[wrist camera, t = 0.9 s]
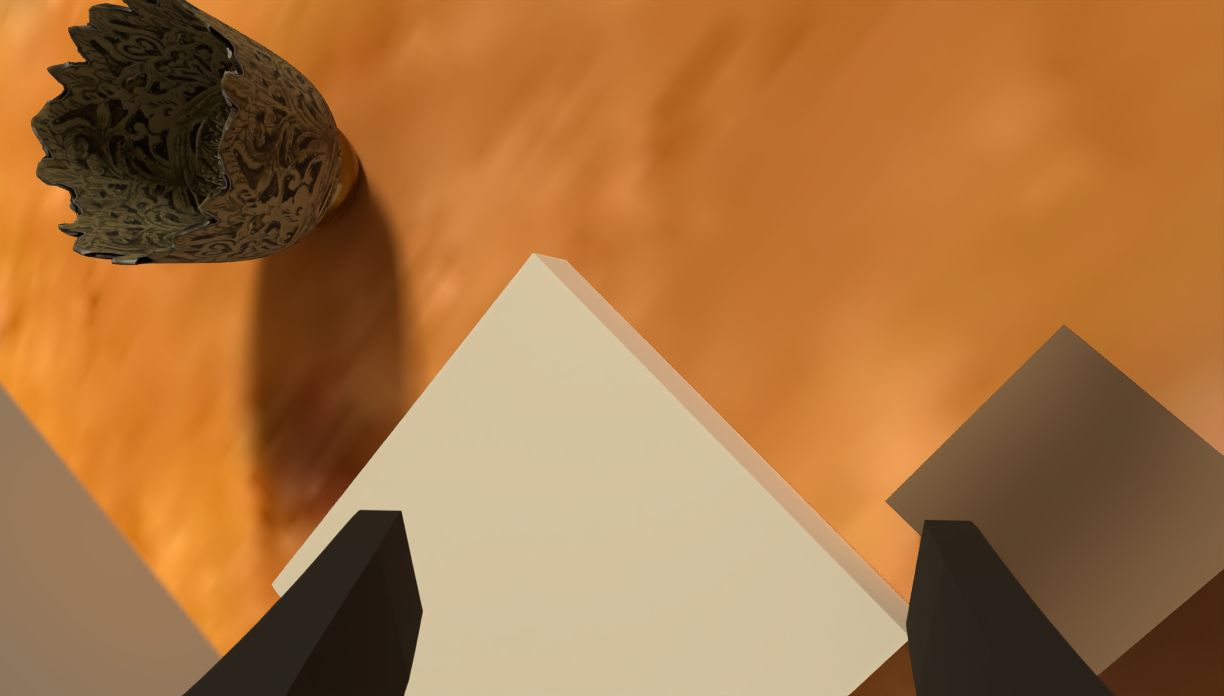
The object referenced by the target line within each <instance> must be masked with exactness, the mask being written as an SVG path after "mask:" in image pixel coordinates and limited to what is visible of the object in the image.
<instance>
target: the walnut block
mask: <svg viewBox="0 0 1224 696" xmlns="http://www.w3.org/2000/svg"><path fill="white" fill-rule="evenodd" d="M885 502H887V503H888V504H889V505H890V506H891V507H892V508H893V509H894V510H895V511H896V512H897V513H898V514H899V515H900V516H901V517H902V518H903V519H904V520H905V521H906V522H907V523H908V524H909V525H910V526H911V527H912V528H913V529H914V530H915V531H916V532H917V533H918V534H919V535H920V536H922V531H923V526H924V520H961V521H972V522H973V523H974V524H975V525H976V526H977V527H978V528H979V530H980V531H981V532H982V534H983V535H984V536H985V538H986V539H987V541H988V542H989V543H990V545H991V546H992V547H993V549H994V550H995V551H996V553H997V554H998V555H999V557H1000V558H1001V559H1002V561H1003V562H1004V563H1005V565H1006V566H1007V567H1008V569H1009V570H1010V571H1011V573H1012V574H1013V575H1014V577H1015V578H1016V579H1017V580H1018V582H1019V583H1020V584H1021V586H1022V587H1023V588H1024V589H1025V591H1026V592H1027V593H1028V594H1029V596H1030V597H1031V598H1032V600H1033V601H1034V602H1035V603H1036V605H1037V606H1038V607H1039V608H1040V610H1041V611H1042V612H1043V613H1044V614H1045V616H1046V617H1047V618H1048V619H1049V621H1050V622H1051V623H1052V624H1053V625H1054V626H1055V628H1056V629H1057V630H1058V631H1059V632H1060V634H1061V635H1062V636H1063V637H1064V638H1065V639H1066V641H1067V642H1068V643H1069V644H1070V645H1071V647H1072V648H1073V649H1074V650H1075V651H1076V652H1077V654H1078V655H1079V656H1080V657H1081V658H1082V659H1083V661H1084V662H1085V663H1086V664H1087V665H1088V666H1089V667H1090V668H1091V670H1092V671H1093V672H1094V673H1095V674H1096V675H1097V676H1098V675H1099V674H1100V673H1101V672H1103V671H1104V670H1105V669H1106V668H1107V667H1109V666H1110V665H1111V664H1112V663H1113V662H1114V661H1116V660H1117V659H1118V658H1119V657H1120V656H1122V655H1123V654H1124V653H1125V652H1126V651H1127V650H1129V649H1130V648H1131V647H1132V646H1133V645H1135V644H1136V643H1137V642H1138V641H1139V640H1140V639H1142V638H1143V637H1144V636H1145V635H1146V634H1147V633H1149V632H1150V631H1151V630H1152V629H1153V628H1155V627H1156V626H1157V625H1158V624H1159V623H1160V622H1162V621H1163V620H1164V619H1165V618H1166V617H1168V616H1169V615H1170V614H1171V613H1172V612H1173V611H1175V610H1176V609H1177V608H1178V607H1179V606H1181V605H1182V604H1183V603H1184V602H1185V601H1186V600H1188V599H1189V598H1190V597H1191V596H1192V595H1194V594H1195V593H1196V592H1197V591H1198V590H1199V589H1201V588H1202V587H1203V586H1204V585H1205V584H1206V583H1208V582H1209V581H1210V580H1211V579H1212V578H1214V577H1215V576H1216V575H1217V574H1218V573H1219V572H1221V571H1222V570H1223V569H1224V456H1223V455H1222V454H1220V453H1219V452H1218V451H1217V450H1215V449H1214V448H1213V447H1212V446H1211V445H1209V444H1208V443H1207V442H1206V441H1205V440H1203V439H1202V438H1201V437H1200V436H1199V435H1197V434H1196V433H1195V432H1194V431H1193V430H1191V429H1190V428H1189V427H1188V426H1186V425H1185V424H1184V423H1183V422H1182V421H1180V420H1179V419H1178V418H1177V417H1176V416H1174V415H1173V414H1172V413H1171V412H1170V411H1168V410H1167V409H1166V408H1165V407H1163V406H1162V405H1161V404H1160V403H1159V402H1157V401H1156V400H1155V399H1154V398H1153V397H1151V396H1150V395H1149V394H1148V393H1147V392H1145V391H1144V390H1143V389H1142V388H1140V387H1139V386H1138V385H1137V384H1136V383H1134V382H1133V381H1132V380H1131V379H1130V378H1128V377H1127V376H1126V375H1125V374H1124V373H1122V372H1121V371H1120V370H1119V369H1117V368H1116V367H1115V366H1114V365H1113V364H1111V363H1110V362H1109V361H1108V360H1107V359H1105V358H1104V357H1103V356H1102V355H1101V354H1099V353H1098V352H1097V351H1096V350H1095V349H1093V348H1092V347H1091V346H1090V345H1088V344H1087V343H1086V342H1085V341H1084V340H1082V339H1081V338H1080V337H1079V336H1078V335H1076V334H1075V333H1074V332H1073V331H1072V330H1070V329H1069V328H1068V327H1067V326H1065V325H1063V326H1062V327H1061V328H1060V329H1059V330H1058V331H1057V332H1056V333H1055V334H1054V335H1053V336H1052V337H1051V338H1050V339H1049V340H1048V341H1047V342H1046V343H1045V344H1044V345H1043V346H1042V347H1041V348H1040V349H1039V350H1038V351H1037V352H1036V353H1035V354H1034V355H1033V356H1032V357H1030V358H1029V359H1028V360H1027V361H1026V362H1025V363H1024V364H1023V365H1022V366H1021V367H1020V368H1019V369H1018V370H1017V371H1016V372H1015V373H1014V374H1013V375H1012V376H1011V377H1010V378H1009V379H1008V380H1007V381H1006V382H1005V383H1004V384H1003V385H1002V386H1001V387H1000V388H999V389H998V390H997V391H996V392H995V393H994V394H993V395H992V396H991V397H990V398H989V399H988V400H987V401H986V402H985V403H984V404H983V405H982V406H981V407H980V408H979V409H978V410H977V411H976V412H975V413H974V414H973V415H972V416H971V417H970V418H969V419H968V420H967V421H966V422H965V423H964V424H963V425H962V426H961V427H960V428H959V429H958V430H957V431H956V432H955V433H954V434H953V435H952V436H951V437H950V438H949V439H948V440H947V441H946V442H945V443H944V444H943V445H942V446H941V447H940V448H938V449H937V450H936V451H935V452H934V453H933V454H932V455H931V456H930V457H929V458H928V459H927V460H926V461H925V462H924V463H923V464H922V465H921V466H920V467H919V468H918V469H917V470H916V471H915V472H914V473H913V474H912V475H911V476H910V477H909V478H908V479H907V480H906V481H905V482H904V483H903V484H902V485H901V486H900V487H899V488H898V489H897V490H896V491H895V492H894V493H893V494H892V495H891V496H890V497H889V498H888V499H887V500H886V501H885Z"/></svg>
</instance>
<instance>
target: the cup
mask: <svg viewBox="0 0 1224 696" xmlns="http://www.w3.org/2000/svg"><path fill="white" fill-rule="evenodd" d="M123 2H124V3H125V4H127V5H128V7H129V8H128V7H124V6H119V5H113V4H108V3H104V4H98V5H94V6H92V7H91V8H90V9H89V10H88V11H89V23H87V26H72V27H69V28H68V31H69V34H70V36H71V38H72V40H73V42H74V43H75V45H76V46H77V48H78V49H77V51H78V52H79V53H80V54H81V56H82V57H83V58H84V59H85V60H86V62H77V63H75V62H74V63H73V62H67V63H64V64H60V65H54V66H50V67H48V68H47V70H48V72H49V73H50V74H51V75H52V76H53V77H54V78H55V79H56V80H57V81H58V82H59V83H61V84H62V86H63V88H64V90H63V91H62V93H61V94H60V95H59V96H57V97H56V98H57V99H56V98H54V99H52V100H49V101H47V103H46V104H45V106H44V107H43V108H42V109H41V111H40V112H39V113H38V114H37V115H36V116H35V117H33V118H32V120H31V127H32V130H33V132H34V134H35V135H36V137H37V138H38V140H39V141H40V143H41V144H42V146H43V147H42V149H43V150H44V152H45V154H46V156H45V157H44V158H42V160H41V161H40V162H39V163H38V166H37V171H36V175H37V177H38V178H39V179H40V180H42V181H43V182H44V183H46V184H47V185H54V186H58V187H60V188H63V189H65V190H68V191H70V192H69V193H70V195H71V199H70V201H71V203H70V205H69V206H70V208H71V209H72V210H73V211H74V212H75V213H76V214H77V213H78V215H77V220H76V221H75V222H74V223H73V224H72V223H71V224H66V223H65V224H60V225H58V227H59V229H60V230H61V231H62V232H64V233H66V234H67V235H70V236H74V237H78V238H77V240H75V243H74V246H73V251H75V252H77V253H79V254H81V255H84V256H87V257H93V258H100V259H111V260H112V264H119V265H138V264H148V263H221V262H236V261H245V260H252V259H257V258H262V257H266V256H270V255H273V254H276V253H278V252H280V251H282V250H285V249H287V248H289V247H291V246H293V245H294V244H296V243H297V242H299V241H300V240H301V239H303V238H304V237H305V236H306V235H308V234H309V233H310V232H311V231H312V230H313V229H314V228H318V227H321V226H324V225H326V224H329V223H331V222H333V221H334V220H336V219H337V218H339V217H340V216H341V215H342V214H343V213H344V212H345V211H346V210H347V208H348V207H349V205H350V204H351V202H352V200H353V198H354V196H355V193H356V190H357V187H358V181H359V164H358V159H357V156H356V153H355V150H354V148H353V146H352V145H351V143H350V141H349V140H348V139H347V137H346V136H345V135H344V134H343V133H342V132H341V131H340V130H339V129H338V128H337V126H336V123H335V120H334V118H333V115H332V113H331V111H330V109H329V107H328V105H327V103H326V101H325V100H324V98H323V97H322V95H321V94H320V93H319V92H318V90H317V89H316V88H315V86H314V85H313V84H312V83H311V82H310V81H309V80H308V79H307V78H306V77H305V76H304V75H303V74H302V73H301V72H299V71H298V70H297V69H296V68H295V67H293V66H292V65H291V64H289V63H288V62H286V61H285V60H284V59H282V58H281V57H279V56H278V55H277V54H275V53H273V52H272V51H270V50H269V49H267V48H266V47H264V46H262V45H261V44H259V43H257V42H256V41H254V40H252V39H251V38H249V37H247V36H246V35H244V34H242V33H240V32H239V31H237V30H235V29H234V28H232V27H230V26H228V25H227V24H225V23H223V22H221V21H220V20H218V19H216V18H214V17H213V16H211V15H209V14H207V13H205V12H204V11H202V10H200V9H198V8H197V7H195V6H193V5H192V4H190V3H188V2H187V1H186V0H123ZM72 198H73V199H72Z"/></svg>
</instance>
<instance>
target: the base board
mask: <svg viewBox="0 0 1224 696" xmlns="http://www.w3.org/2000/svg"><path fill="white" fill-rule="evenodd" d="M359 510H398V511H402V515H403V520H404V525H405V530H406V534H407V539H408V544H409V548H410V553H411V558H412V562H413V567H414V572H415V576H416V581H417V586H418V590H419V595H420V600H421V604H422V609H423V614H422V619H421V625H420V630H419V635H418V640H417V645H416V651H415V655H414V660H413V664H412V669H411V674H410V678H409V682H408V685H407V688H406V691H405V694H404V696H848V695H850V694H851V693H852V692H853V691H854V690H855V689H856V688H857V687H858V686H859V685H860V684H861V683H863V682H864V681H865V680H866V679H867V678H868V677H869V676H870V675H871V674H872V673H873V672H874V671H875V670H877V669H878V668H879V667H880V666H881V665H882V664H883V663H884V662H885V661H886V660H887V659H888V658H890V657H891V656H892V655H893V654H894V653H895V652H896V651H897V650H898V649H899V648H900V647H901V646H903V645H904V644H905V643H906V642H907V641H908V636H907V630H906V620H907V614H908V609H909V605H908V604H907V603H906V602H905V601H904V600H903V599H902V598H901V597H900V596H899V595H898V594H897V593H896V592H895V591H894V590H893V589H892V588H891V587H890V586H889V585H888V584H887V583H886V582H885V581H884V580H883V579H882V578H881V577H880V576H879V575H878V574H877V573H876V572H875V571H874V570H873V569H872V568H871V566H870V565H869V564H868V563H867V562H866V561H865V560H864V559H863V558H862V557H861V556H860V555H859V554H858V553H857V552H856V551H855V550H854V549H853V548H852V547H851V546H850V545H849V544H848V543H847V542H846V541H845V540H844V539H843V538H842V537H841V536H840V535H839V534H838V533H837V532H836V531H835V530H834V529H833V528H832V527H831V526H830V525H829V524H828V523H827V522H826V521H825V520H824V519H823V518H822V517H821V516H820V515H819V514H818V513H817V512H816V511H815V510H814V509H813V508H812V507H811V506H810V505H809V504H808V503H807V502H806V501H805V500H804V499H803V498H802V497H801V496H800V495H799V494H798V493H797V492H796V491H795V490H794V489H793V488H792V487H791V486H790V485H789V484H788V483H787V482H786V481H785V480H784V479H783V478H782V477H781V476H780V475H779V474H778V473H777V472H776V471H775V470H774V469H773V468H772V467H771V466H770V465H769V464H768V463H767V462H766V461H765V460H764V459H763V458H762V457H761V456H760V455H759V454H758V453H757V452H756V451H755V450H754V449H753V448H752V447H751V446H750V445H749V444H748V443H747V442H746V441H745V440H744V439H743V438H742V437H741V436H740V435H739V434H738V433H737V432H736V431H735V430H734V429H733V428H732V427H731V426H730V425H729V424H728V423H727V422H726V421H725V420H724V419H723V418H722V416H721V415H720V414H719V413H718V412H717V411H716V410H715V409H714V408H713V407H712V406H711V405H710V404H709V403H708V402H707V401H706V400H705V399H704V398H703V397H702V396H701V395H700V394H699V393H698V392H697V391H696V390H695V389H694V388H693V387H692V386H691V385H690V384H689V383H688V382H687V381H686V380H685V379H684V378H683V377H682V376H681V375H680V374H679V373H678V372H677V371H676V370H675V369H674V368H673V367H672V366H671V365H670V364H669V363H668V362H667V361H666V360H665V359H664V358H663V357H662V356H661V355H660V354H659V353H658V352H657V351H656V350H655V349H654V348H653V347H652V346H651V345H650V344H649V343H648V342H647V341H646V340H645V339H644V338H643V337H642V336H641V335H640V334H639V333H638V332H637V331H636V330H635V329H634V328H633V327H632V326H631V325H630V324H629V323H628V322H627V321H626V320H625V319H624V318H623V317H622V316H621V315H620V314H619V313H618V312H617V311H616V310H615V309H614V308H613V307H612V306H611V305H610V304H609V303H608V302H607V301H606V300H605V299H604V298H603V297H602V296H601V295H600V294H599V293H598V292H597V291H596V290H595V289H594V288H593V287H592V286H591V285H590V284H589V283H588V282H587V281H586V280H585V279H584V278H583V277H582V276H581V275H580V274H579V273H578V272H577V271H576V270H575V269H574V268H573V266H572V265H571V264H570V263H569V262H568V261H567V260H563V259H559V258H554V257H550V256H545V255H541V254H537V253H533V254H532V255H531V256H530V258H529V259H528V260H527V262H526V263H525V264H524V265H523V267H522V268H521V269H520V270H519V272H518V273H517V274H516V275H515V277H514V278H513V279H512V281H511V282H510V283H509V284H508V286H507V287H506V288H505V289H504V291H503V292H502V293H501V294H500V296H499V297H498V298H497V300H496V301H495V302H494V303H493V305H492V306H491V307H490V308H489V310H488V311H487V312H486V313H485V315H484V316H483V317H482V319H481V320H480V321H479V322H478V324H477V325H476V326H475V327H474V329H473V330H472V331H471V332H470V334H469V335H468V336H467V338H466V339H465V340H464V341H463V343H462V344H461V345H460V346H459V348H458V349H457V350H456V351H455V353H454V354H453V355H452V357H451V358H450V359H449V360H448V362H447V363H446V364H445V365H444V367H443V368H442V369H441V370H440V372H439V373H438V374H437V376H436V377H435V378H434V379H433V381H432V382H431V383H430V384H429V386H428V387H427V388H426V389H425V391H424V392H423V393H422V395H421V396H420V397H419V398H418V400H417V401H416V402H415V403H414V405H413V406H412V407H411V409H410V410H409V411H408V412H407V414H406V415H405V416H404V417H403V419H402V420H401V421H400V422H399V424H398V425H397V426H396V428H395V429H394V430H393V431H392V433H391V434H390V435H389V436H388V438H387V439H386V440H385V441H384V443H383V444H382V445H381V447H380V448H379V449H378V450H377V452H376V453H375V454H374V455H373V457H372V458H371V459H370V460H369V462H368V463H367V464H366V466H365V467H364V468H363V469H362V471H361V472H360V473H359V474H358V476H357V477H356V478H355V479H354V481H353V482H352V483H351V485H350V486H349V487H348V488H347V490H346V491H345V492H344V493H343V495H342V496H341V497H340V498H339V500H338V501H337V502H336V504H335V505H334V506H333V507H332V509H331V510H330V511H329V512H328V514H327V515H326V516H325V517H324V519H323V520H322V521H321V523H320V524H319V525H318V526H317V528H316V529H315V530H314V531H313V533H312V534H311V535H310V536H309V538H308V539H307V540H306V542H305V543H304V544H303V545H302V547H301V548H300V549H299V550H298V552H297V553H296V554H295V556H294V557H293V558H292V559H291V561H290V562H289V563H288V564H287V566H286V567H285V568H284V569H283V571H282V572H281V573H280V575H279V576H278V577H277V578H276V580H275V581H274V582H273V583H272V586H273V587H274V589H275V590H276V592H277V593H278V594H279V596H280V597H282V596H283V595H284V594H285V592H286V591H287V590H288V589H289V588H290V587H291V586H292V585H293V584H294V583H295V582H296V580H297V579H298V578H299V577H300V576H301V575H302V574H303V573H304V571H305V570H306V569H307V568H308V567H309V566H310V565H311V564H312V562H313V561H314V560H315V559H316V558H317V557H318V556H319V554H320V553H321V552H322V551H323V550H324V549H325V548H326V546H327V545H328V544H329V543H330V542H331V541H332V539H333V538H334V537H335V536H336V535H337V534H338V532H339V531H340V530H341V529H342V528H343V527H344V526H345V524H346V523H347V522H348V521H349V520H350V519H351V518H352V517H353V515H355V514H356V513H357V512H358V511H359Z"/></svg>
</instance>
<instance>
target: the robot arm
mask: <svg viewBox="0 0 1224 696" xmlns="http://www.w3.org/2000/svg"><path fill="white" fill-rule="evenodd" d="M422 614H423V609H422V604H421V600H420V595H419V590H418V586H417V581H416V576H415V572H414V567H413V562H412V558H411V553H410V548H409V544H408V539H407V534H406V530H405V525H404V520H403V515H402V511H398V510H359V511H358V512H357V513H356V514H355V515H353V517H352V518H351V519H350V520H349V521H348V522H347V523H346V524H345V526H344V527H343V528H342V529H341V530H340V531H339V532H338V534H337V535H336V536H335V537H334V538H333V539H332V541H331V542H330V543H329V544H328V545H327V546H326V548H325V549H324V550H323V551H322V552H321V553H320V554H319V556H318V557H317V558H316V559H315V560H314V561H313V562H312V564H311V565H310V566H309V567H308V568H307V569H306V570H305V571H304V573H303V574H302V575H301V576H300V577H299V578H298V579H297V580H296V582H295V583H294V584H293V585H292V586H291V587H290V588H289V589H288V590H287V591H286V592H285V594H284V595H283V596H282V597H281V598H280V599H279V600H278V601H277V602H276V603H275V604H274V605H273V606H272V608H271V609H270V610H269V611H268V612H267V613H266V614H265V615H264V616H263V617H262V618H261V619H260V621H259V622H258V623H257V624H256V625H255V626H254V627H253V628H252V629H251V630H250V631H249V632H248V633H247V634H246V635H245V636H244V637H243V638H242V639H241V640H240V641H239V642H238V643H237V644H236V645H235V646H234V647H233V648H232V649H231V650H230V651H229V652H228V653H227V654H226V655H225V656H224V657H223V658H222V659H221V660H220V661H219V662H218V663H217V664H215V665H214V666H213V668H211V669H210V670H209V671H208V672H207V673H206V674H205V675H204V676H203V677H202V678H201V679H200V680H199V681H198V682H197V683H195V684H194V685H193V686H192V687H191V688H190V689H189V690H188V691H187V692H186V693H185V694H183V695H182V696H404V694H405V691H406V688H407V685H408V682H409V678H410V674H411V669H412V664H413V660H414V655H415V651H416V645H417V640H418V635H419V630H420V625H421V619H422ZM906 630H907V636H908V643H909V650H910V657H911V664H912V670H913V676H914V682H915V688H916V694H917V696H1115V695H1114V693H1113V692H1112V691H1111V690H1110V689H1109V688H1108V687H1107V686H1106V685H1105V684H1104V683H1103V682H1102V681H1101V680H1100V678H1099V677H1098V676H1097V675H1096V674H1095V673H1094V672H1093V671H1092V670H1091V668H1090V667H1089V666H1088V665H1087V664H1086V663H1085V662H1084V661H1083V659H1082V658H1081V657H1080V656H1079V655H1078V654H1077V652H1076V651H1075V650H1074V649H1073V648H1072V647H1071V645H1070V644H1069V643H1068V642H1067V641H1066V639H1065V638H1064V637H1063V636H1062V635H1061V634H1060V632H1059V631H1058V630H1057V629H1056V628H1055V626H1054V625H1053V624H1052V623H1051V622H1050V621H1049V619H1048V618H1047V617H1046V616H1045V614H1044V613H1043V612H1042V611H1041V610H1040V608H1039V607H1038V606H1037V605H1036V603H1035V602H1034V601H1033V600H1032V598H1031V597H1030V596H1029V594H1028V593H1027V592H1026V591H1025V589H1024V588H1023V587H1022V586H1021V584H1020V583H1019V582H1018V580H1017V579H1016V578H1015V577H1014V575H1013V574H1012V573H1011V571H1010V570H1009V569H1008V567H1007V566H1006V565H1005V563H1004V562H1003V561H1002V559H1001V558H1000V557H999V555H998V554H997V553H996V551H995V550H994V549H993V547H992V546H991V545H990V543H989V542H988V541H987V539H986V538H985V536H984V535H983V534H982V532H981V531H980V530H979V528H978V527H977V526H976V525H975V524H974V523H973V522H972V521H961V520H924V526H923V531H922V537H921V542H920V548H919V553H918V559H917V564H916V570H915V576H914V581H913V587H912V592H911V598H910V603H909V609H908V614H907V620H906Z"/></svg>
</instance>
